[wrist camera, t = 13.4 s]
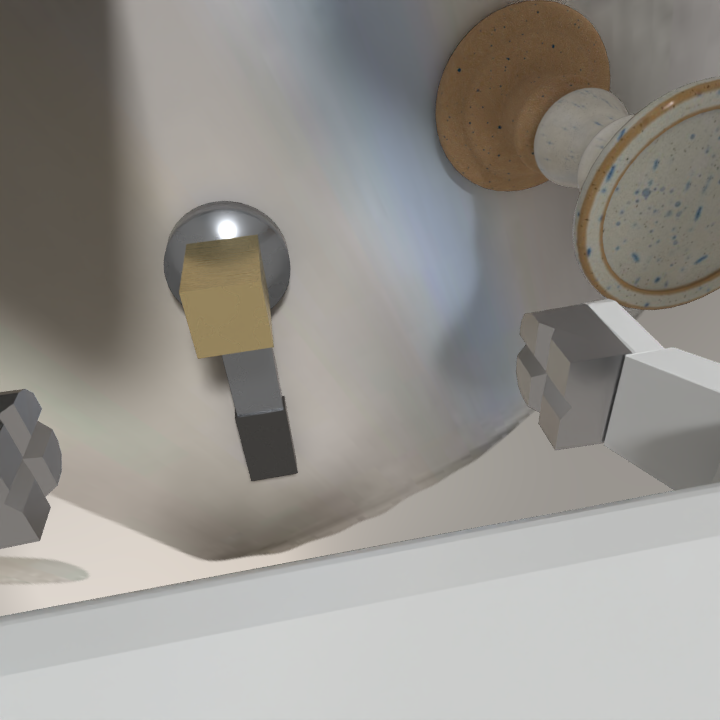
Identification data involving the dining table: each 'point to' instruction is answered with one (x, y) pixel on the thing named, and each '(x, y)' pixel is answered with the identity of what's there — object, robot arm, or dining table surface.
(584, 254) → the candle holder
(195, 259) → the tan rectangular block
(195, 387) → the dining table surface
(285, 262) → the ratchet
